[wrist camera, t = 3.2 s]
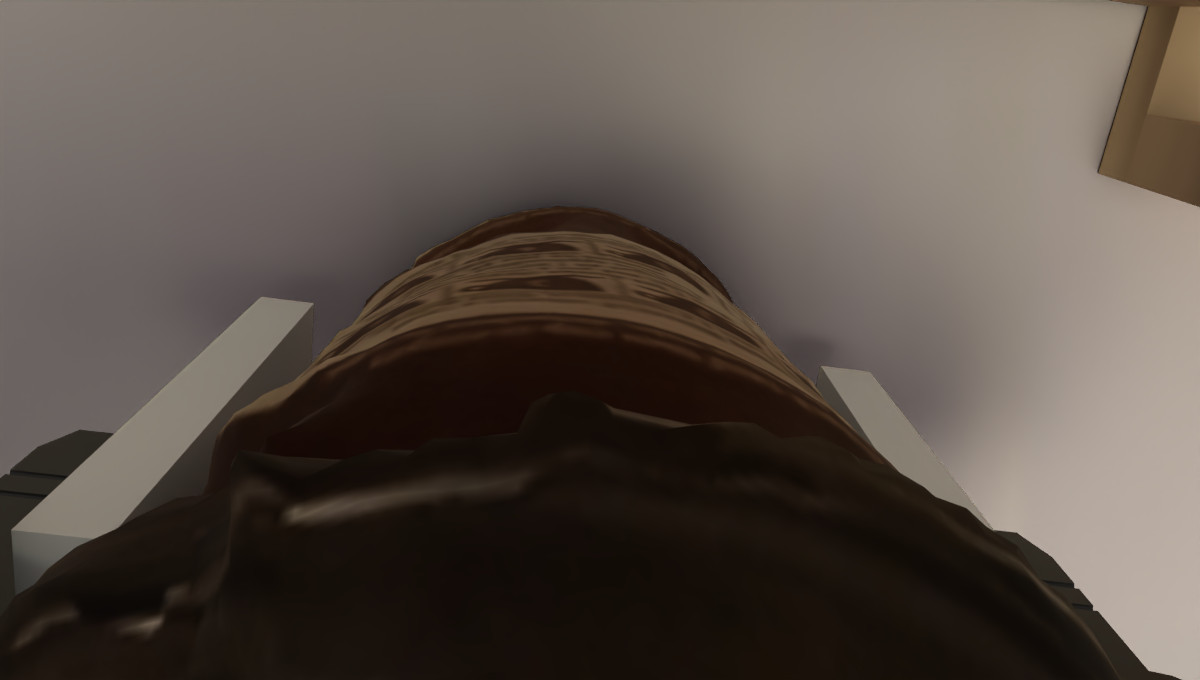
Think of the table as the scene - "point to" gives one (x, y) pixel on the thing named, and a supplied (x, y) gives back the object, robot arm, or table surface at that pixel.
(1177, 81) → the wooden stepped block
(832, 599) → the coffee cup
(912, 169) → the table surface
